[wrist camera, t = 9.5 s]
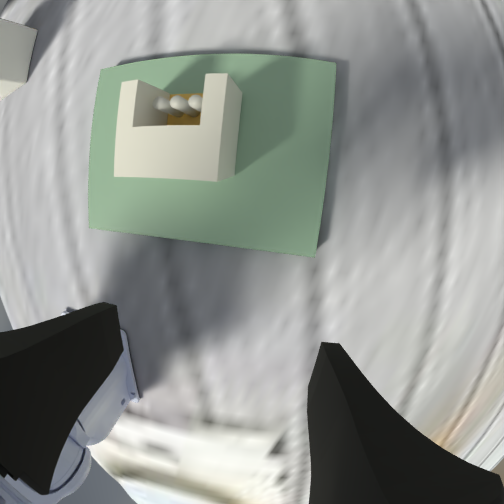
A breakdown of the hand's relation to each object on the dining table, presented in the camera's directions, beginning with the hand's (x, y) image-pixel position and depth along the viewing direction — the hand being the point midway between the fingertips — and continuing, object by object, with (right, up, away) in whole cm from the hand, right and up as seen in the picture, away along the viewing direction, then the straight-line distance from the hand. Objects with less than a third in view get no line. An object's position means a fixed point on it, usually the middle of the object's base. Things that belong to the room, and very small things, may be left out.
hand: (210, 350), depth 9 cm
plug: (-2, +10, +6) cm, 12 cm away
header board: (-2, +10, +8) cm, 13 cm away
